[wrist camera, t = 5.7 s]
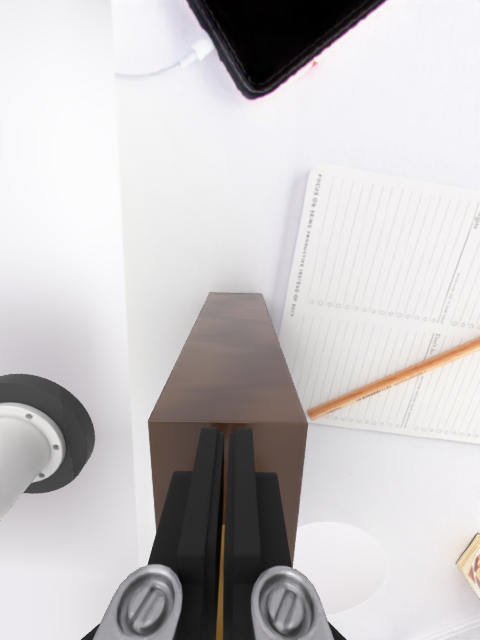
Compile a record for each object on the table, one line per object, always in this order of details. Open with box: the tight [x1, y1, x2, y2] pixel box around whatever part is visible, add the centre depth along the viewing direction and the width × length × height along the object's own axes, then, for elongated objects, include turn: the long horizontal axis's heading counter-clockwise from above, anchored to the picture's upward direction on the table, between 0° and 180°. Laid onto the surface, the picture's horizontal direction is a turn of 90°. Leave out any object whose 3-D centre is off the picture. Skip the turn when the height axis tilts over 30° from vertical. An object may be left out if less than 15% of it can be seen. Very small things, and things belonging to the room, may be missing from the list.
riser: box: [148, 292, 308, 568], centre depth 24 cm, size 6×14×24 cm, turn 178°
